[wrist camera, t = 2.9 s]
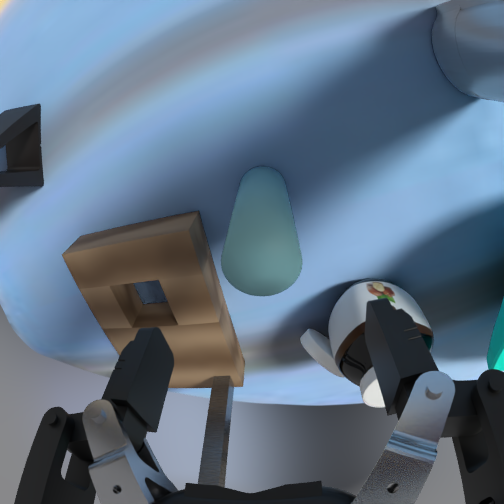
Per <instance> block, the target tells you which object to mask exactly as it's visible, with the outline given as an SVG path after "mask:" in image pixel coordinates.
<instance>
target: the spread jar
mask: <svg viewBox="0 0 504 504" xmlns="http://www.w3.org/2000/svg"><path fill="white" fill-rule="evenodd" d="M381 298H388V300H389V301H390V303H391V305H392V307H393V309H394V310H397V309H401V308H402V309H403V310H404V311H405V312H407V313H408V314H409V315H410V316H411V317H412V318H413V320H414V322H415V324H416V326H417V329H418V330H419V332H420V334H421V337H422V338H423V340H424V342H425V344H426V346H427V348H428V350H429V352H430V354H431V351H432V348H433V343H434V337H433V332H432V329H431V327H430V325H429V323H428V321H427V319H426V317H425V315H424V314H423V312H422V310H421V308H420V307H419V305H418V304H417V303H416V301H415V300H414V299H413V298H412V296H411V295H410V294H408V293H407V292H406V291H405V290H403V289H402V288H400V287H399V286H397V285H395V284H394V283H392V282H390V281H387V280H383V279H366V280H362V281H359V282H356V283H355V284H353V285H351V286H350V287H349V288H348V289H347V290H345V292H344V293H343V294H342V295H341V296H340V298H339V299H338V301H337V302H336V304H335V306H334V308H333V311H332V313H331V316H330V319H329V326H328V332H329V339H330V340H329V339H328V338H327V337H325V336H324V335H322V334H321V333H319V332H318V331H316V330H314V329H308V330H307V331H306V332H305V333H304V334H303V335H302V336H301V338H300V341H301V344H302V345H303V347H304V348H305V350H306V351H307V352H308V353H309V354H310V355H311V356H312V357H313V358H314V359H315V360H316V361H317V362H318V363H319V364H320V365H321V366H323V367H324V368H325V369H327V370H328V371H329V372H331V373H333V374H335V375H336V376H339V377H346V378H347V379H348V380H349V381H351V382H352V383H354V384H356V385H357V386H359V387H360V390H361V395H362V399H363V402H364V403H365V404H367V405H369V406H372V407H385V404H384V400H383V397H382V393H381V390H380V387H379V383H378V380H377V377H376V373H375V370H374V367H373V364H372V361H371V358H370V354H369V351H368V348H367V345H366V340H365V320H366V306H367V302H368V301H371V300H376V299H381Z"/></svg>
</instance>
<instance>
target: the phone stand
mask: <svg viewBox="0 0 504 504" xmlns="http://www.w3.org/2000/svg"><path fill="white" fill-rule="evenodd" d="M40 144H41V105H40V104H35V105H30V106H24V107H20V108H15V109H10V110H6V111H4V112H2V113H1V114H0V149H1V148H2V147H3V146H4V145H6V154H7V165H8V169H7V171H2V172H0V187H15V186H43V184H44V179H43V168H42V153H41V146H40Z"/></svg>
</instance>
